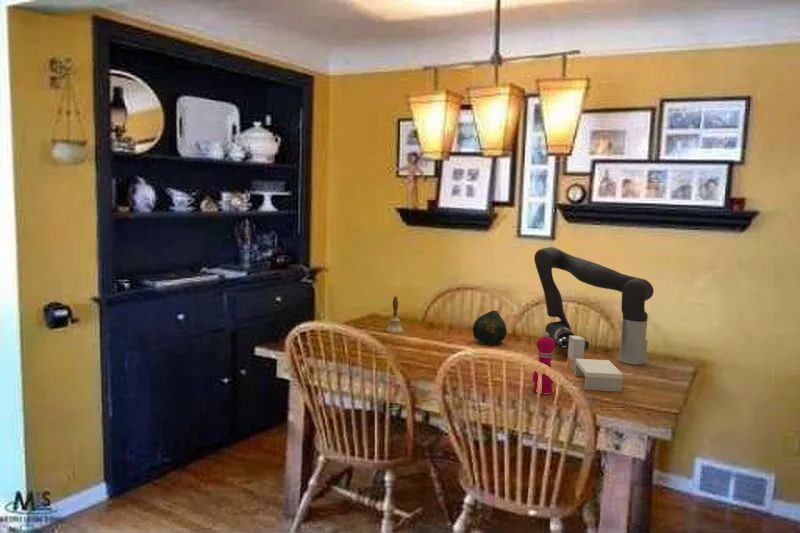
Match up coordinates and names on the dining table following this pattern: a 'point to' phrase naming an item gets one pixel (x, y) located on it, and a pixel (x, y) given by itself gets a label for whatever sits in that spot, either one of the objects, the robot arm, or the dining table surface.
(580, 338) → the skincare box
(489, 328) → the squash
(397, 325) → the hand bell
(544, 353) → the pepper mill
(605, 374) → the shelf bench
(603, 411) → the dining table surface
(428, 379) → the dining table surface
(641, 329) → the robot arm
